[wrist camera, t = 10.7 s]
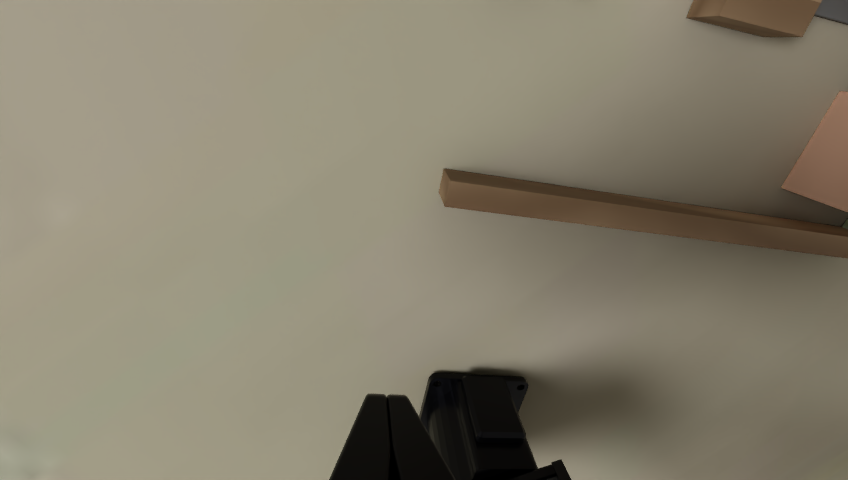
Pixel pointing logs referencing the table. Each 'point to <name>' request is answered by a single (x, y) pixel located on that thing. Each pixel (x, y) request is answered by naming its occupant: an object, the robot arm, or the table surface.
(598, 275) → the table surface
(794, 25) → the trap lane
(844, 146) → the block
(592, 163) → the table surface
